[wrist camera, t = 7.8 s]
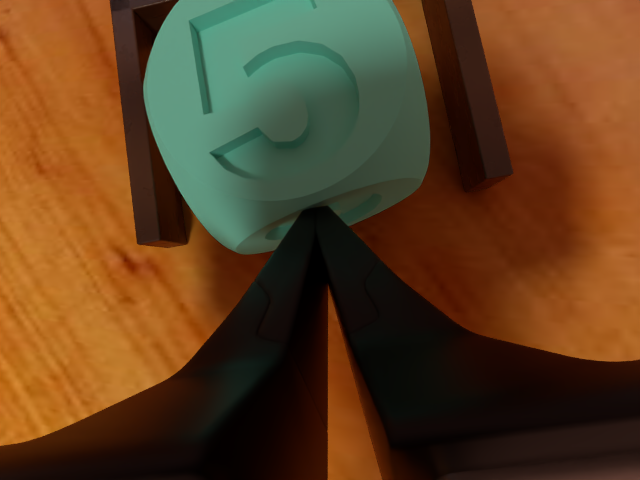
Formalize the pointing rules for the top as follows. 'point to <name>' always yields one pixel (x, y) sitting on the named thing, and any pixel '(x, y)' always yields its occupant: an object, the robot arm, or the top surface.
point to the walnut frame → (454, 73)
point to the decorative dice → (286, 112)
